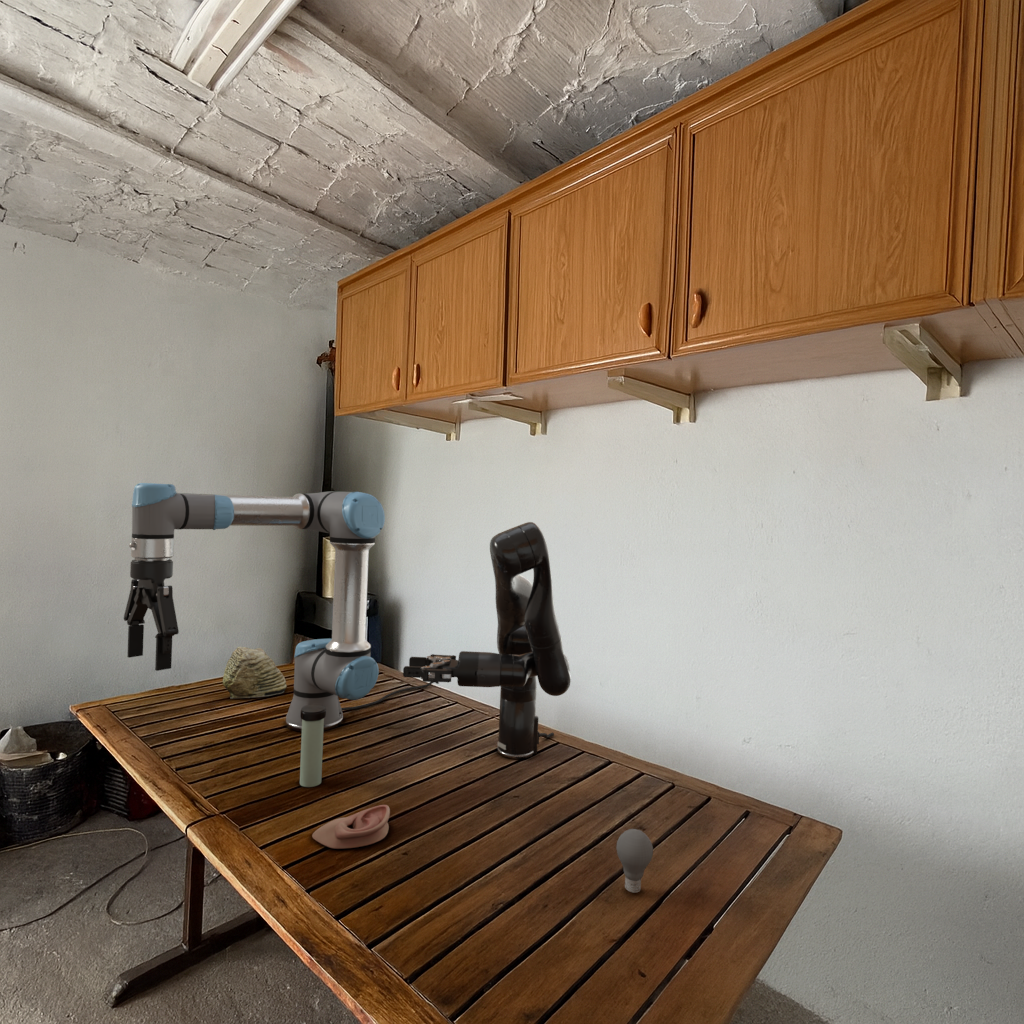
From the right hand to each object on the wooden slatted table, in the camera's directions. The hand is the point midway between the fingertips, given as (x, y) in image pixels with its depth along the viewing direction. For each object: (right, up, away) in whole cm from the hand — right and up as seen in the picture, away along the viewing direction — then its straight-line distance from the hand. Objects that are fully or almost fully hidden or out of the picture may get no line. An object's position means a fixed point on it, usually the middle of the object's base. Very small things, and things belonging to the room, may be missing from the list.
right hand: (406, 666), depth 140 cm
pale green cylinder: (-21, -26, +1) cm, 33 cm away
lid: (-21, -10, 0) cm, 23 cm away
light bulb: (+43, -29, -34) cm, 62 cm away
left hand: (-51, +3, -10) cm, 52 cm away
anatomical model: (-7, -27, -20) cm, 34 cm away
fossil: (-57, -23, +58) cm, 85 cm away
